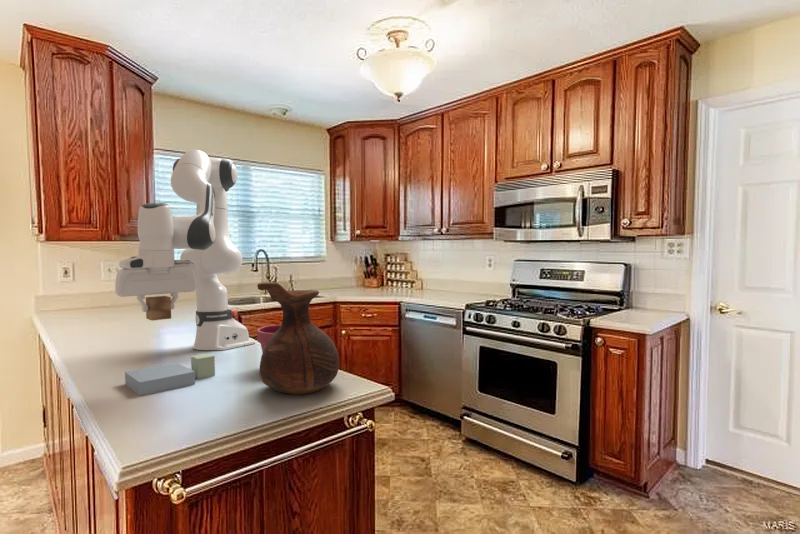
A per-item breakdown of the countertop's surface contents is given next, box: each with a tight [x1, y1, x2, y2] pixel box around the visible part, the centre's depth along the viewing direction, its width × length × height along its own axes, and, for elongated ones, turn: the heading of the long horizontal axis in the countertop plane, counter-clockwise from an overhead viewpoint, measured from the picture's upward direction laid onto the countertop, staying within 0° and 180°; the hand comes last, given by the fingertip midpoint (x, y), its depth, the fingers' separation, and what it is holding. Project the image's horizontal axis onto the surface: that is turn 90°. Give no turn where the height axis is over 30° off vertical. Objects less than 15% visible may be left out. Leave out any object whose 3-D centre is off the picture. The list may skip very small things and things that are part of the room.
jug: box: [256, 281, 340, 395], centre depth 125 cm, size 22×22×30 cm
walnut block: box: [145, 295, 172, 321], centre depth 129 cm, size 5×5×6 cm
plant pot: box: [256, 324, 281, 353], centre depth 146 cm, size 14×14×13 cm
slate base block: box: [124, 362, 196, 396], centre depth 130 cm, size 14×14×4 cm
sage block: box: [190, 353, 216, 380], centre depth 138 cm, size 5×5×6 cm
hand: (158, 310), depth 129 cm, fingers closed on walnut block, 5 cm apart
